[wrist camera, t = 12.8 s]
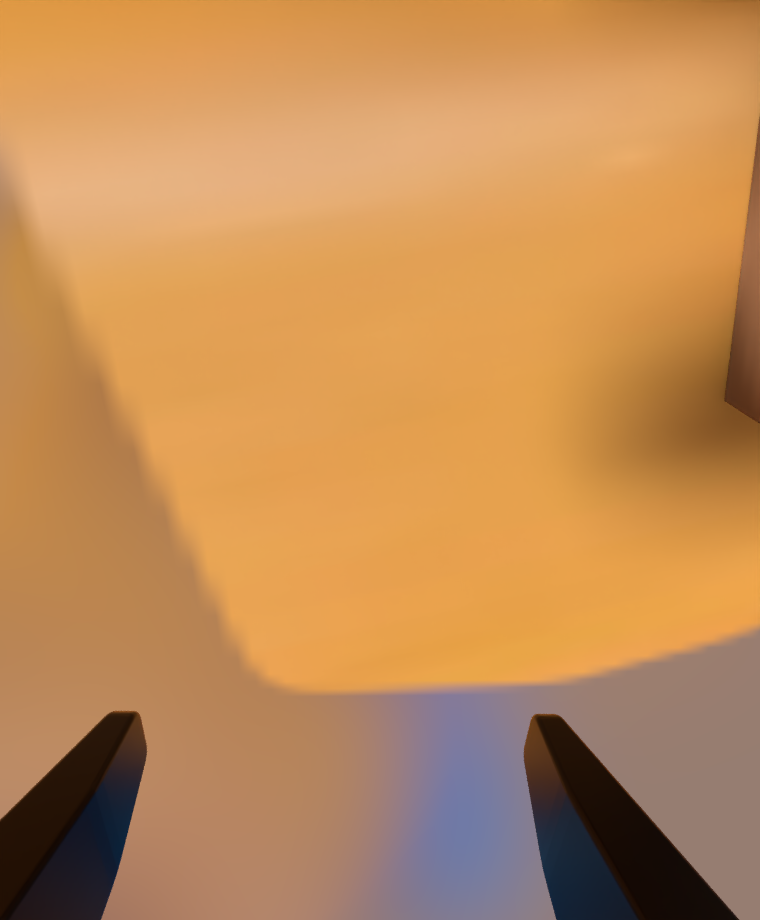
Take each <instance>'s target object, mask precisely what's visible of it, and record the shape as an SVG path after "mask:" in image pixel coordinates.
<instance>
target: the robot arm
mask: <svg viewBox="0 0 760 920" xmlns="http://www.w3.org/2000/svg"><path fill="white" fill-rule="evenodd" d="M146 755H147V745H146V740H145V735H144V730H143V726H142V721H141V717H140V715H139V713H138V712H136V711H113V712H111V713H109V714H107V715H106V716H105V717H104V718H103V719H102V720H101V721H100V722H99V723H98V724H97V725H96V726H95V727H94V728H93V729H92V730H91V731H90V732H89V733H88V734H87V735H86V736H85V737H84V738H83V739H82V740H81V741H80V742H79V743H78V744H77V745H76V746H75V747H74V748H73V749H72V750H71V751H69V752H68V754H66V756H65V757H64V758H63V759H61V760H60V761H59V762H58V763H57V764H56V765H55V766H54V767H53V768H52V769H51V770H50V771H49V772H48V773H47V774H46V775H45V776H44V777H43V778H42V779H41V780H40V781H39V782H38V783H37V784H36V785H35V786H34V787H33V788H32V789H31V790H30V791H29V792H28V793H27V794H26V795H25V796H24V797H23V798H22V799H21V800H20V801H19V802H18V803H17V804H16V805H15V806H14V807H13V808H12V809H11V810H10V811H9V812H8V813H7V814H6V815H5V816H4V817H3V818H2V819H1V820H0V920H101V918H102V915H103V912H104V909H105V907H106V904H107V901H108V898H109V896H110V892H111V890H112V887H113V884H114V881H115V877H116V875H117V871H118V868H119V864H120V861H121V857H122V853H123V849H124V845H125V841H126V837H127V833H128V829H129V825H130V821H131V817H132V813H133V809H134V805H135V801H136V797H137V794H138V789H139V786H140V782H141V778H142V774H143V770H144V766H145V761H146ZM524 763H525V769H526V775H527V781H528V787H529V793H530V798H531V804H532V810H533V816H534V822H535V828H536V833H537V839H538V845H539V850H540V856H541V861H542V867H543V871H544V875H545V879H546V883H547V887H548V890H549V894H550V898H551V902H552V905H553V909H554V913H555V916H556V919H557V920H739V919H738V918H737V917H736V916H735V915H734V913H733V912H732V911H731V910H730V909H729V908H728V907H727V905H726V904H725V903H724V902H723V901H722V900H721V899H720V897H719V896H718V895H717V894H716V893H715V892H714V891H713V889H712V888H711V887H710V886H709V885H708V884H707V883H706V882H705V880H704V879H703V878H702V877H701V876H700V875H699V873H698V872H697V871H696V870H695V869H694V868H693V867H692V865H691V864H690V863H689V862H688V861H687V860H686V859H685V857H684V856H683V855H682V854H681V853H680V852H679V851H678V850H677V848H676V847H675V846H674V845H673V844H672V843H671V841H670V840H669V839H668V838H667V837H666V836H665V835H664V834H663V832H662V831H661V830H660V829H659V828H658V827H657V825H656V824H655V823H654V822H653V821H652V820H651V819H650V818H649V816H648V815H647V814H646V813H645V812H644V811H643V810H642V808H641V807H640V806H639V805H638V804H637V803H636V802H635V800H634V799H633V798H632V797H631V796H630V795H629V793H628V792H627V791H626V790H625V789H624V788H623V787H622V786H621V784H620V783H619V782H618V781H617V780H616V779H615V778H614V776H613V775H612V774H611V773H610V772H609V771H608V770H607V768H606V767H605V766H604V765H603V764H602V763H601V762H600V760H599V759H598V758H597V757H596V756H595V755H594V754H593V752H592V751H591V750H590V749H589V748H588V747H587V746H586V744H585V743H584V742H583V741H582V740H581V739H580V738H579V736H578V735H577V734H576V733H575V732H574V731H573V730H572V728H571V727H570V726H569V725H568V724H567V723H566V722H565V720H564V719H563V718H562V717H560V716H559V715H556V714H535V715H534V716H533V717H532V719H531V722H530V726H529V730H528V734H527V738H526V742H525V746H524Z"/></svg>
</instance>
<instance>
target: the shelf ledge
mask: <svg viewBox="0 0 760 920" xmlns="http://www.w3.org/2000/svg"><path fill="white" fill-rule="evenodd" d="M725 402H727V403H729V404H730V405H732V406H733V407H735V408H736V409H738V410H740V411H741V412H743V413H744V414H746V415H747V416H749V417H751V418H752V419H754V420H755V421H757V422H758V423H760V119H759V127H758V135H757V143H756V151H755V159H754V167H753V175H752V183H751V191H750V200H749V208H748V216H747V224H746V232H745V240H744V248H743V256H742V264H741V272H740V280H739V289H738V297H737V305H736V313H735V321H734V329H733V337H732V345H731V353H730V361H729V369H728V377H727V386H726V394H725Z"/></svg>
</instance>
